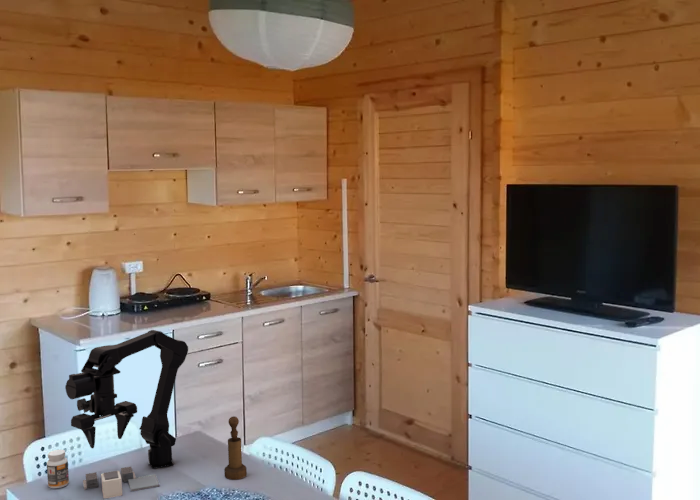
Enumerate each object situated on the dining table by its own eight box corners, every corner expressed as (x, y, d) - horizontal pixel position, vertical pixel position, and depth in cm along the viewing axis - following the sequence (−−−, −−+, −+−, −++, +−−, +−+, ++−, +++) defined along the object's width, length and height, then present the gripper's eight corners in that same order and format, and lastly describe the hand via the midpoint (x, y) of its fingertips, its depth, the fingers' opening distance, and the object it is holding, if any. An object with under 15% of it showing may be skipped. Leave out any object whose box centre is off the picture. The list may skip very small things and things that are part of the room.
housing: (134, 473, 220) (133, 465, 220) (136, 480, 215) (135, 472, 214) (83, 482, 214) (82, 474, 214) (84, 489, 209) (83, 481, 209)
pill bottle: (61, 489, 209) (59, 456, 208) (44, 488, 211) (41, 455, 210) (73, 481, 215) (70, 449, 214) (55, 480, 216) (53, 448, 215)
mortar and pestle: (251, 473, 218) (248, 415, 217) (239, 481, 213) (236, 421, 211) (232, 469, 221) (230, 412, 219) (220, 477, 215) (217, 419, 213)
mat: (155, 476, 218) (155, 474, 218) (159, 486, 210) (159, 484, 210) (128, 480, 215) (127, 479, 214) (130, 491, 207) (130, 489, 207)
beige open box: (120, 487, 210) (119, 469, 210) (122, 495, 205) (121, 476, 204) (102, 490, 209) (101, 472, 208) (103, 499, 203) (102, 480, 202)
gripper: (114, 379, 222) (116, 429, 224) (58, 394, 208) (61, 447, 209) (137, 385, 216) (139, 436, 217) (81, 400, 201) (83, 455, 202)
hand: (106, 443), depth 212 cm, fingers open, 9 cm apart
